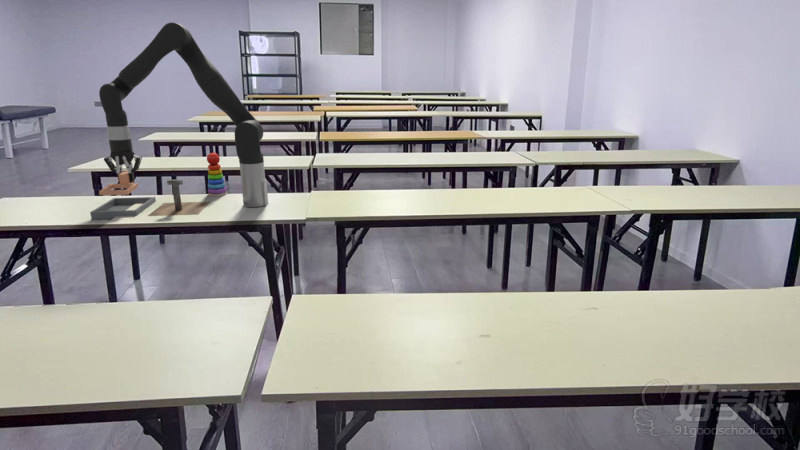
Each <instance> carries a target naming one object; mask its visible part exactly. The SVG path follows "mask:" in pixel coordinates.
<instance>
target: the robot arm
mask: <svg viewBox="0 0 800 450" xmlns="http://www.w3.org/2000/svg"><path fill="white" fill-rule="evenodd" d="M198 45H199V44H197V41H196V40H195V39H194V37H193V35H192V33H191V32H190V31H189V29H188V28H187V27H186V26H184V25H182V24H180V23H177V22H173V21H171V22H167V23H166V24H164V25H163V26H162V28H160V30H159V31H158V32H157V34H155V37H154V38H153V39H152V40H151V42H150V43H149V44H148V45H147V46H146V47H145V48H144V49H143V50H142V51H141V53H139V54H138V55H137V56H136V57H135V58H134V59H132V60H131V62H129V63H128V64H127V65H126V66H125V67H124V68H123V69H122V70H120V71H119V72H118V76H117V77H116V78H114V79H113V80H112V81H111V82H110V83H104V84H103V85H101V86H100V89H99V94H98V95H99V100H100V103H101V106H102V109H103V111H104V113H105V120H106V126H107V127H106V128H107V131H106V132H107V138H108V139H107V140H108V144H109V150H110V155H109V156H106V157H104V158H103V161H104V162H105V163H106V165H107V167H108V169H109V170H110V171H111V173H116V174H117V179H118V182H119V183H120V181H119V176H118V175H119V174H120V173H122V172H123V165H124V166H125V168H126V170H127V171H128V173H129V181H130V183H132V182H135V175H134V173H135V172H137V171H139V169H140V166H141V163H142V159H143V157H142V156H141V155H140V156H138V155H136V154H135V152H134V149H133V144H132V137H131V136H132V135H131V130H130V127H129V121H128V116H127V112H126V110H124V109H123V104H122V101H123V100H124V99H126V98H127V96H129V95H130V93H132V91H133V90H134V89H135V88H136V87H138V85H140V84H141V83H142V82H143V81H144V80H146V78H148V76H150V75H151V73H152V72H153V71H154V69H156V66H157V65H158V64H159V63H160V62H161V61H162V59H164V58H165V57H166V56H168V55H169V54H171V52H173V51H175V52H176V53H177V55H179V56H180V58H181V59H182V60H183V61H184V62H185V64H186V66H188V68H189V70H190V71H191V74H192V76H193V78H194V80H195V82H196V83H197V85H198V87H199V88H200V90H201V91H202V92H203V94H204V95H205V96H206V97H207V98H208V100H210V101H211V103H212V104H213V105H214V106H216V108H218V109H219V110H221V111H222V112H223V113H225V114H226V115H227V116H228V118H230V120H231V121H232V123H234V125H235V129H234V142H235V144H234V145H235V150H236V155H237V158H238V162H239V171H240V183H241V193H242V202H243V203H242V204H243V206H244V207H247V208H258V207H266V206H267V205H268V203H269V197H268V196H269V195H268V186H267V179H266V174H265V161H264V159H265V158H264V155H263V153H262V151H261V143H260V141H261V140H262V138H263V137H264V128H263V126H262V125H261V123H260V122H259V121H258V120H257V118H255V116H254V115H252V114H251V112H250V111H249V110H248V109H247V108H246V107H245V106H244V104H243V103H242V102H241V100H240V99H239V97H238V96H237V94H236V93H235V92H234V90H233V89H232V87H231V86H230V85H229V83H228V81H227V80H226V79H225V78H224V76H223V75H222V73H220V72H219V70H218V69H217V67H215V66H214V64H213V63H212V62H211V61H210V60H209V58H207V56H206V55H205V54H204V53H203V51H202V50H201V48H200V47H199V46H198ZM113 161H114V162H115V164H114V162H113ZM132 161H134V165H133V163H132Z"/></svg>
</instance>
